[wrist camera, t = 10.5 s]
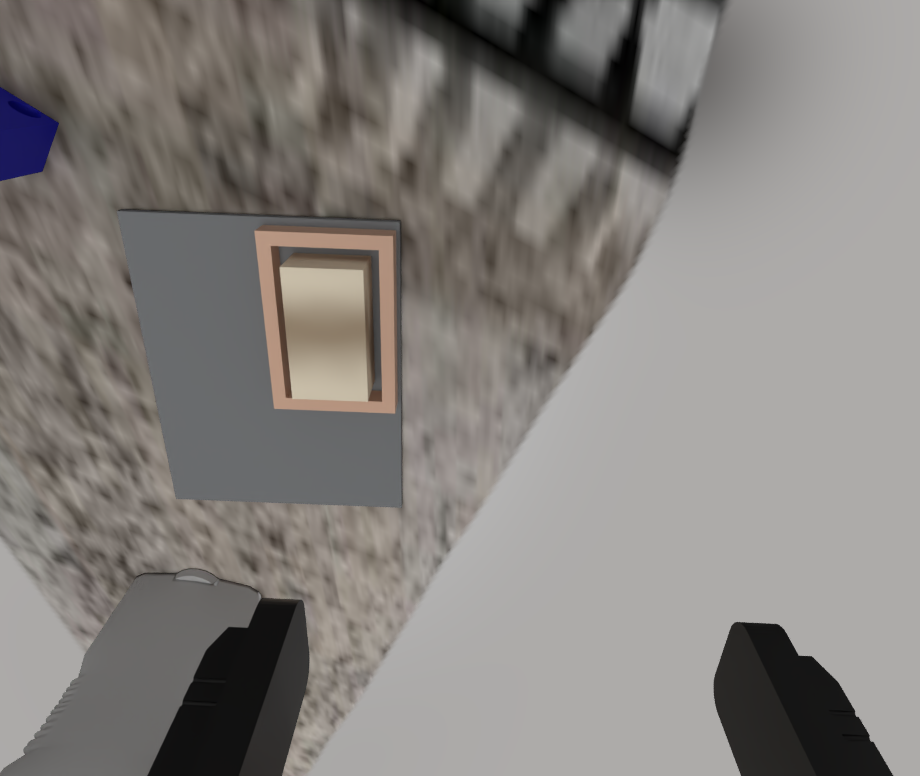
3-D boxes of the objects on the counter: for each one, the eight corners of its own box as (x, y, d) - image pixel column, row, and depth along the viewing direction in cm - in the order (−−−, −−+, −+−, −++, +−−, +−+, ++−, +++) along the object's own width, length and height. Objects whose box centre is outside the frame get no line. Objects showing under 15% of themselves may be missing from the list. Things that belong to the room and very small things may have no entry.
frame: (262, 225, 35) (254, 230, 34) (396, 230, 35) (393, 236, 34) (280, 397, 40) (274, 408, 39) (397, 402, 40) (395, 413, 39)
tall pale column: (131, 599, 49) (-95, 946, 30) (127, 559, 47) (-118, 902, 28) (266, 615, 50) (132, 967, 30) (267, 577, 48) (125, 925, 28)
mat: (121, 209, 36) (116, 211, 35) (400, 220, 36) (399, 222, 35) (179, 494, 45) (176, 498, 44) (402, 503, 45) (401, 507, 44)
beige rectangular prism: (374, 379, 40) (367, 401, 37) (304, 377, 40) (292, 398, 37) (371, 255, 36) (363, 270, 33) (293, 252, 36) (279, 266, 33)
